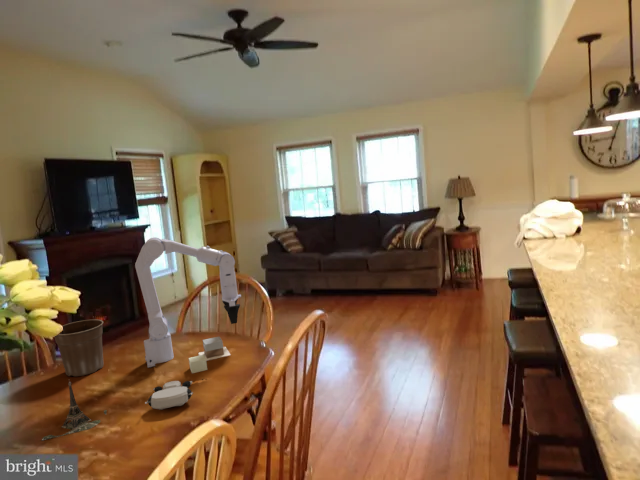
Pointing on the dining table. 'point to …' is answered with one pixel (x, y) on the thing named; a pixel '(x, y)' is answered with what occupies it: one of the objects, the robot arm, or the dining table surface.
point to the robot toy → (170, 395)
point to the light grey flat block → (212, 343)
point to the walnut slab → (214, 352)
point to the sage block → (197, 363)
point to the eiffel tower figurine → (75, 418)
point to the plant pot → (81, 347)
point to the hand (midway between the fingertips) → (233, 320)
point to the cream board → (226, 353)
